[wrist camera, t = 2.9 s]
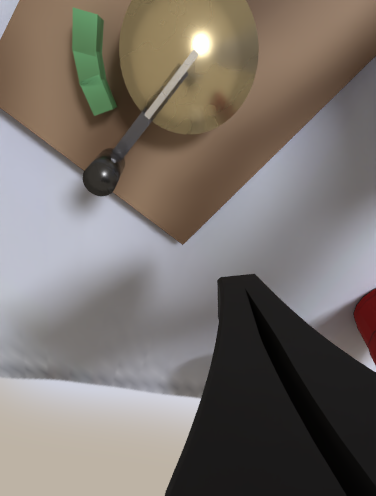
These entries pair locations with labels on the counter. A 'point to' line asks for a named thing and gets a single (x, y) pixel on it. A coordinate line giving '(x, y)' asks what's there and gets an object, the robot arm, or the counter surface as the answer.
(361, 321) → the plastic cup
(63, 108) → the dial board
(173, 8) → the dial
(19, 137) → the counter surface
